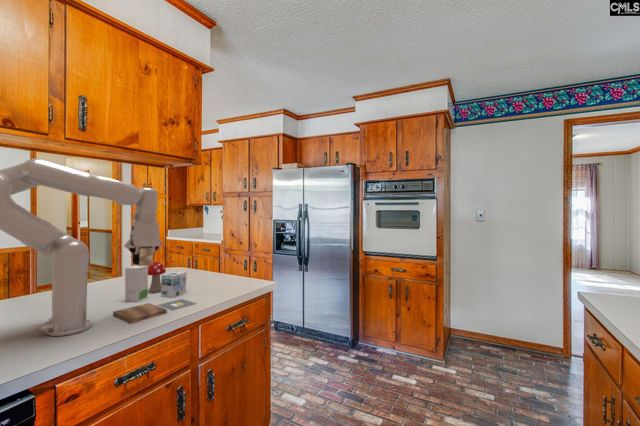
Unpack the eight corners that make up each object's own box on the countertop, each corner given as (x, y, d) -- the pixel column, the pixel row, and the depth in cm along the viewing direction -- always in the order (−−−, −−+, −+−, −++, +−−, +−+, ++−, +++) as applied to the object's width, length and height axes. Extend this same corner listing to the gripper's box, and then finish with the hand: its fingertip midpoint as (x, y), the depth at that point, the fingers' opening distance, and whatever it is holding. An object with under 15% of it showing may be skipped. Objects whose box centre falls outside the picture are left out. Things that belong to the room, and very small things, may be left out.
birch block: (140, 266, 121) (141, 248, 121) (133, 264, 124) (134, 247, 124) (152, 264, 125) (153, 247, 125) (146, 263, 128) (147, 246, 128)
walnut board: (130, 323, 114) (130, 319, 114) (113, 315, 122) (113, 311, 122) (166, 313, 126) (166, 309, 126) (148, 306, 134) (148, 303, 134)
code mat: (172, 311, 129) (172, 310, 129) (156, 305, 135) (156, 305, 135) (197, 304, 139) (197, 303, 139) (182, 299, 146) (182, 298, 146)
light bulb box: (172, 298, 147) (173, 275, 147) (160, 297, 148) (160, 274, 148) (186, 292, 157) (187, 271, 157) (175, 291, 159) (175, 270, 158)
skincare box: (138, 302, 139) (138, 268, 139) (123, 302, 139) (124, 267, 139) (148, 297, 148) (148, 264, 147) (134, 296, 148) (135, 264, 147)
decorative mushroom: (154, 288, 164) (154, 260, 163) (169, 289, 163) (169, 260, 163) (141, 293, 154) (141, 263, 153) (157, 294, 153) (158, 264, 153)
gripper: (128, 218, 115) (125, 266, 115) (171, 219, 130) (168, 262, 129) (118, 217, 119) (115, 264, 119) (161, 218, 134) (158, 260, 133)
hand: (143, 262), depth 124 cm, fingers closed on birch block, 5 cm apart
